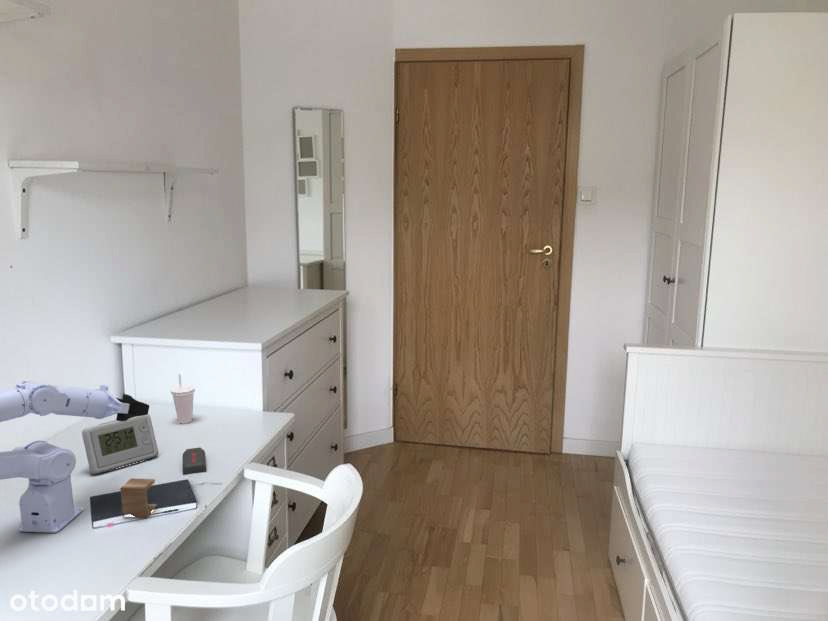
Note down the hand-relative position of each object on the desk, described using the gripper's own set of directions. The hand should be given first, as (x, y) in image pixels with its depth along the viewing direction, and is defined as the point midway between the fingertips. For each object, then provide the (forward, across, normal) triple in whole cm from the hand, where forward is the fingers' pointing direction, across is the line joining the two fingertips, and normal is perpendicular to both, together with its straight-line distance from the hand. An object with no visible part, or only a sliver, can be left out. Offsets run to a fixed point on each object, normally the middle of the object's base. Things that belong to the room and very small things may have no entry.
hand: (136, 407), depth 145 cm
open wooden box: (-2, -11, +20) cm, 23 cm away
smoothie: (+35, +24, +4) cm, 42 cm away
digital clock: (+10, +13, +14) cm, 22 cm away
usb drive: (+18, -2, +12) cm, 22 cm away
